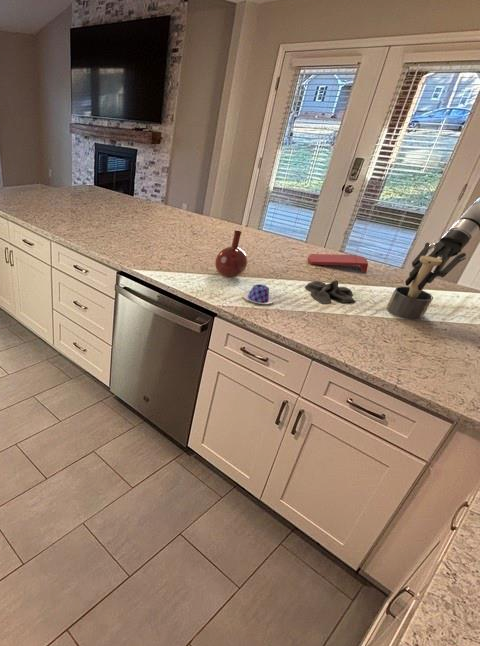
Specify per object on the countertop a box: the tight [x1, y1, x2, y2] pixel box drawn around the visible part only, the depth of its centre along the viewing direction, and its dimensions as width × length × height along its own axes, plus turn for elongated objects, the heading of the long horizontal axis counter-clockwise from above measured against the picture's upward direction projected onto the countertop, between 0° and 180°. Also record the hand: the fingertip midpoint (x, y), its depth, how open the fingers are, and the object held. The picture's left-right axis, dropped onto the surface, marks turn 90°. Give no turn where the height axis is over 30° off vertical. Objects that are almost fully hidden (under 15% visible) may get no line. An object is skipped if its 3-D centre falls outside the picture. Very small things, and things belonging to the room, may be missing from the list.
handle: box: [408, 255, 442, 298], centre depth 152 cm, size 5×6×15 cm
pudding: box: [242, 283, 275, 305], centre depth 163 cm, size 12×12×5 cm
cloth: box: [304, 279, 356, 305], centre depth 169 cm, size 22×19×6 cm
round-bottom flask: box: [214, 230, 248, 279], centre depth 177 cm, size 13×13×20 cm
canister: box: [385, 286, 434, 321], centre depth 157 cm, size 12×12×8 cm
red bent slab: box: [307, 253, 369, 273], centre depth 200 cm, size 12×5×25 cm
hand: (412, 285), depth 151 cm, fingers closed on handle, 4 cm apart
